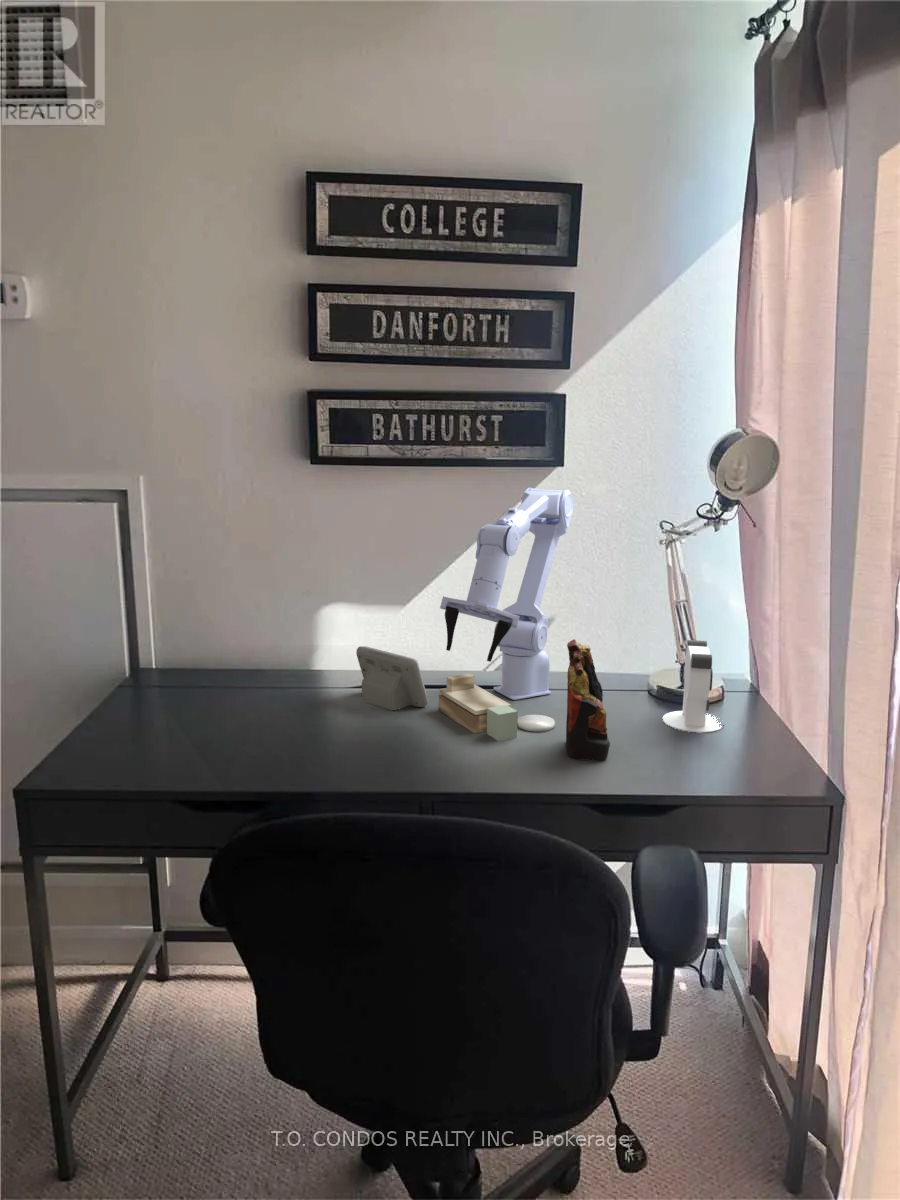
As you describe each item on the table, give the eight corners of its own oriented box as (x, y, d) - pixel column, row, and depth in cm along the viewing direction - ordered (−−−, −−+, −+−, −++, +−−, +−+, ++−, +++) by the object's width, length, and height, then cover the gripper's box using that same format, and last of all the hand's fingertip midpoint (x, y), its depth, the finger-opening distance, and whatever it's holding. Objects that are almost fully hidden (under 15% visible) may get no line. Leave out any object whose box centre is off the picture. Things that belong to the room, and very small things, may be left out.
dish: (540, 716, 173) (541, 712, 173) (562, 728, 167) (562, 724, 167) (510, 722, 170) (510, 718, 170) (530, 734, 164) (530, 730, 164)
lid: (473, 687, 179) (473, 671, 178) (511, 708, 167) (511, 691, 166) (439, 693, 176) (439, 676, 175) (475, 715, 164) (476, 697, 163)
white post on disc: (727, 736, 164) (734, 657, 161) (664, 732, 166) (669, 654, 163) (720, 714, 176) (726, 640, 173) (660, 710, 178) (665, 637, 174)
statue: (608, 764, 152) (614, 650, 147) (561, 760, 153) (565, 647, 148) (609, 737, 163) (615, 631, 159) (565, 734, 165) (569, 628, 160)
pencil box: (473, 704, 180) (474, 688, 179) (511, 726, 168) (511, 710, 167) (438, 710, 176) (438, 694, 175) (474, 733, 164) (474, 716, 164)
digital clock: (432, 708, 178) (432, 656, 175) (395, 717, 172) (395, 664, 170) (385, 687, 190) (385, 638, 187) (349, 695, 184) (348, 645, 182)
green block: (505, 730, 166) (505, 704, 165) (516, 737, 163) (517, 711, 162) (486, 733, 164) (487, 707, 163) (498, 741, 161) (498, 714, 160)
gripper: (449, 569, 163) (431, 640, 160) (527, 589, 163) (510, 661, 160) (447, 579, 170) (429, 648, 166) (521, 599, 170) (505, 667, 166)
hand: (468, 655), depth 163 cm, fingers open, 7 cm apart
